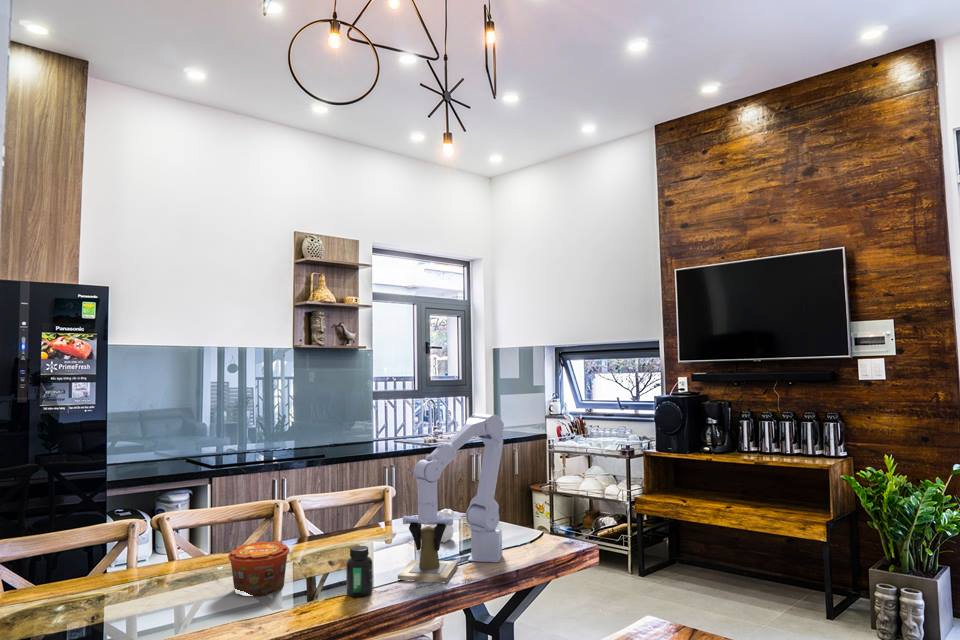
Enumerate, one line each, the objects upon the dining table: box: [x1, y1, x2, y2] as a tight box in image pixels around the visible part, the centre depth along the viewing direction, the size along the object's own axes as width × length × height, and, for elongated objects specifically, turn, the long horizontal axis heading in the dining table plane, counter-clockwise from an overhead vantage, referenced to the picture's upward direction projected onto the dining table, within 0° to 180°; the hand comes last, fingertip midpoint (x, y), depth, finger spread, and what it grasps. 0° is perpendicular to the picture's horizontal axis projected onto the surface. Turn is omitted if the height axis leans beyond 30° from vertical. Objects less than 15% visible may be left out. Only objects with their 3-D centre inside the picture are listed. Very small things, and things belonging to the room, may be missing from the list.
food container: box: [227, 541, 290, 597], centre depth 182 cm, size 16×16×11 cm
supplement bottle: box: [345, 545, 374, 599], centre depth 176 cm, size 7×7×12 cm
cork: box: [419, 526, 440, 570], centre depth 192 cm, size 6×6×11 cm
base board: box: [397, 559, 459, 584], centre depth 191 cm, size 14×14×2 cm
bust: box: [432, 508, 455, 544], centre depth 225 cm, size 12×8×11 cm
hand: (428, 549), depth 191 cm, fingers closed on cork, 5 cm apart
